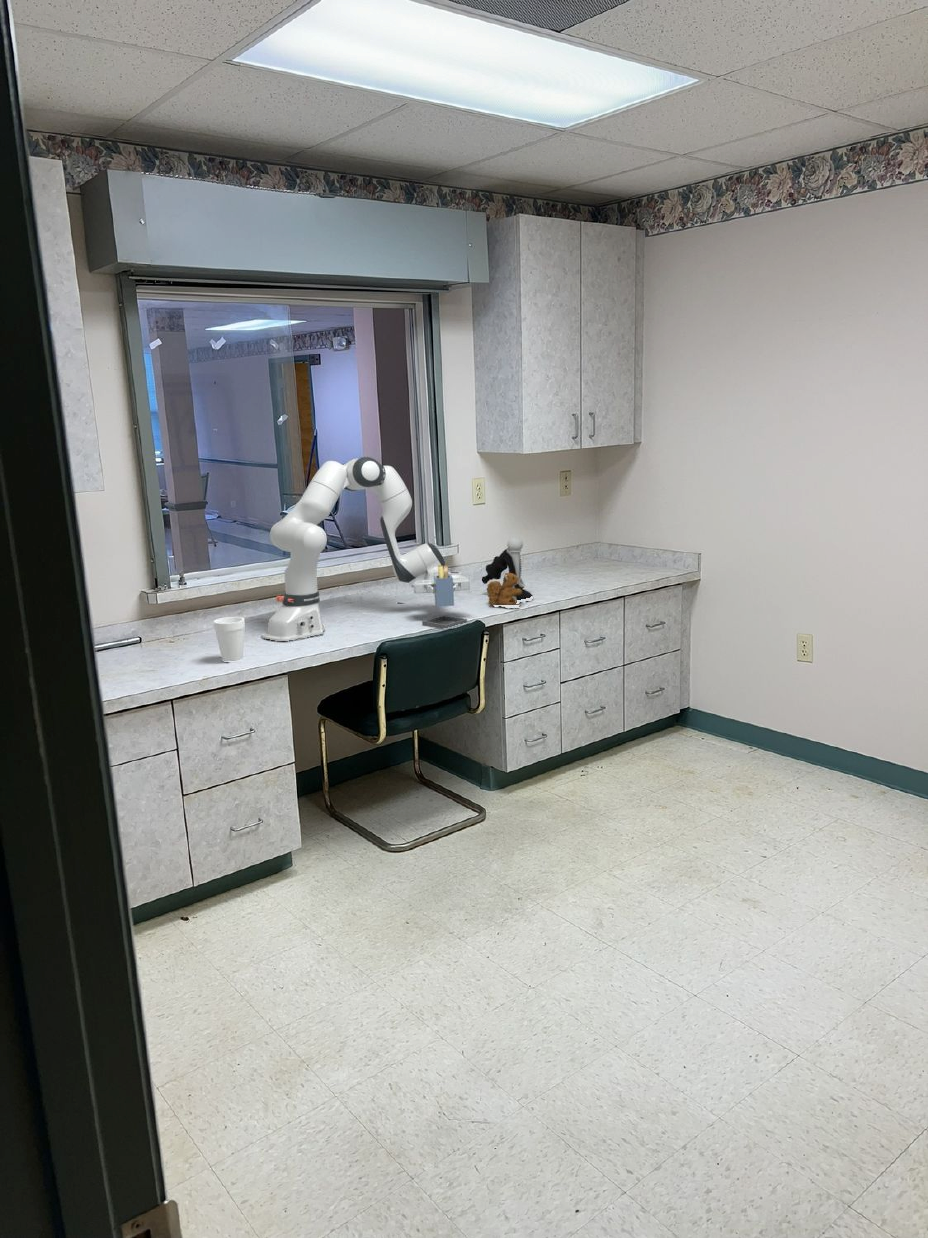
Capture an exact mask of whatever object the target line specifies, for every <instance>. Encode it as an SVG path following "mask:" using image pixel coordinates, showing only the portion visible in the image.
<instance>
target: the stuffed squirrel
mask: <svg viewBox="0 0 928 1238" xmlns="http://www.w3.org/2000/svg"><path fill="white" fill-rule="evenodd" d="M502 582H503V583H502V584H501V583H500V581H497V580H494V581H492V580H491V581H489V582H488V583H487V584H486V587H487V588H486V592H487V593H488V595H487V597H488V600H487V602H488V603H489V604H490V606H491V605H520V603H519V604H516V603H517V598H516V596H515V595H521V593H522V590H521V589H517V588H515V587H514V585H516V584H518V582H519V578H518V576H516V575H515V574H513V573H509V572H505V574H504V576H503V580H502ZM518 585H519V584H518Z"/></svg>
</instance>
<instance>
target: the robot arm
mask: <svg viewBox="0 0 928 1238" xmlns="http://www.w3.org/2000/svg"><path fill="white" fill-rule="evenodd" d="M368 488H369V489H371V490H372V492H374V494H375V495H376V497H377V499H378V501H379V504H380V506H381V509H382V515H381V517H380V518H379V523H380V527H381V531H382V535H383V539H384V541H385V544H386V548H387V552H388V554H389V557H390V560H391V565H392V570H393V575H394V576H395V577H396V579H397V580H398V581H399V582H402V583H408V584H409V583H411V582H412V581H413V583H411V585H410V587H411V588H413V593H414V594H430V593H431V594H433V595H435V594H434V593H435V592H436V591H435V590H436V588H435V587H434V576H438V575H439V574H438V566H439V565H442V566H443V575H444V566H446V562H445V560H444V559H445V558H444V557H443V555H442V553H441V551H440V550H439V548H438V547H437V546H436V545H435V544H433V543H430V542H425V543H424V544H421V545H420V546H418V547H416V548H414V549H413V550H410V551H408V552H407V553H404V554H401V551H400V548H399V545H398V541H397V538H396V530H397V528H398V527H399V526H400V524H401V523H402V522H403V521H404V519H405V518H406V517H407V516H408V515H409V514H410V512H411V509H412V508H413V507H412V506H413V500H412V497H411V493H410V492H409V489H408V488H407V486H406V484H405V482H404V480H403V479H402V477H401V476H400V475H399V473H398V472H397V471H396V469H395V468H394V467H393V466H391V465H382V463H381V464H380V462H379V461H378V460H376V459H375V458H373V457H371V456H370V457H369V456H363V457H362V456H361V457H359V458H354V459H351V460H349V461H347V462H344V463H343V464H342V463H340V462H338V461H335V460H328V461H325V462H324V463H323V464H322V465H321V466H320V467H319V468H318V470H317V471H316V473H315V474H314V476H313V477H312V479H311V480H310V482H309V483H308V486H307V487H306V489H305V490H304V492H303V494H302V496H301V497H300V499H299V501H298V502H297V503H296V504H295V505H294V506H293V508H291V510H289V512H288V513H287V514H286V515H285V516H284V517H283V518H282V519H281V520H280V521H278V522H276V523H274V524H273V525H272V527H271V529H270V532H269V539H270V542H271V543H272V544H273V546H274V547H276V548H278V549H279V550H281V551H283V552H288V553H290V558H289V563H288V566H287V567H286V568H285V569H284V574H283V575H284V587H285V593H284V596H283V595H282V596H281V595H277V596H276V600H277V602H280V603H282V604H281V606H280V607H279V608H278V609H277V611H275V613H273V615H272V616H271V617H270V618H269V620H268V621H267V622H268V624H267V631H266V632H264V633H262V634H261V638H262V639H264V638H267V639H270V640H269V641H271V640H275V641H274V642H277V641H288V642H290V641H289V640H293V639H298V638H304V639H308V638H307V637H309V638H311V637H310V636H314V635H319V634H323V635H324V633H325V631H326V627H325V625H324V622H323V619H322V614H321V609H320V599H321V598H320V592H319V591H320V590H319V589H318V577H317V576H318V564H319V558H320V556H321V553H322V552H323V551H324V549H325V548H326V545H327V543H328V542H327V541H328V539H327V538H328V537H327V534H326V531H325V530H324V529H323V528H322V527H321V526H319V524H320V523H321V522H322V521H324V520H326V519H327V518H328V517H329V516H330V514H331V511H332V510H333V508H334V507H335V505H336V502H337V501H338V500H339V497H340V496H341V493H342V492H343V491H344V490H346V491H351V492H356V491H362V490H366V489H368ZM422 575H423V579H418V580H415V579H417V578H418V577H420V576H422ZM448 575H451V576H452V577H453V591H454V592H458V591H470V589H471V583H470V582H471V581H470V578H468V577H467V576H465V575H463V572H460V571H459V572H458V571H448ZM324 630H325V631H324ZM323 631H324V632H323ZM319 636H320V635H319ZM314 637H315V636H314ZM298 640H299V639H298ZM293 641H294V640H293Z"/></svg>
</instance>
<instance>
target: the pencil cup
mask: <svg viewBox="0 0 928 1238" xmlns="http://www.w3.org/2000/svg"><path fill="white" fill-rule="evenodd" d="M443 576H444V575H443ZM434 587H435V588H436V590H435V591H436V592H435V593H434V594H433V595H434V604H435V606H436V607H437V608H442V607H443V608H444V607H454V606H455V596H454V595H455V594H454V592H455V591H453V577H452V576H451V575H448V578H439V575H438V576H434Z"/></svg>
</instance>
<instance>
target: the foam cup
mask: <svg viewBox="0 0 928 1238" xmlns="http://www.w3.org/2000/svg"><path fill="white" fill-rule="evenodd" d="M245 622H246V621H245V618H244V617H241V616H228V617H227V616H226V617H220V618H217V619H215V620H213V629H214V630H215V635H216V638H217V643H218V649H219V652H220V655H221V657H220V658H221V660H222V661H223V660H224V661H237V660H240V659H242V658H243V659H244V647H245V645H244V643H245V628H246V624H245Z"/></svg>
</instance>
